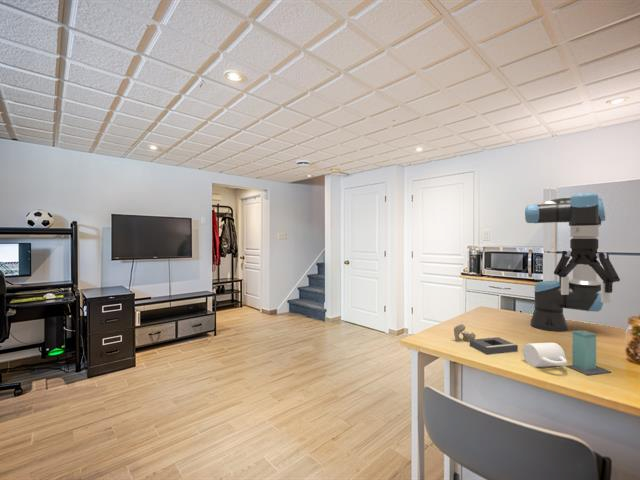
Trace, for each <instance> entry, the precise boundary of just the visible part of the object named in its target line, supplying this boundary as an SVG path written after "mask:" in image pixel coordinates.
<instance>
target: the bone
mask: <svg viewBox="0 0 640 480" xmlns="http://www.w3.org/2000/svg"><path fill="white" fill-rule="evenodd" d="M465 329H466V326H465V324H462V323H461V324H460V323H459V324H458V325H456V326H454V328H453V334H454V335H453V336H454V338H455V342H468V343H470V340H472V339H476V333H474V332H471V333H469V331H466V330H465ZM460 334H461V335H462V338H461V337H460Z"/></svg>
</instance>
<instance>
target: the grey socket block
mask: <svg viewBox="0 0 640 480" xmlns="http://www.w3.org/2000/svg"><path fill="white" fill-rule="evenodd" d="M469 346H470V347H472V348H474V349H475V350H477V351H479V352H481V353H483V354H485V355H497V354H498V355H499V354H506V353H507V354H508V353H517V352H518V351H519V350H518V346H519V345H518V344H516V343H513V342H511V341H508V340H506V339H503V338H502V337H497V336H496V337H486V338H475V339H472V340H470V342H469Z"/></svg>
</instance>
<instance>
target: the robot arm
mask: <svg viewBox="0 0 640 480" xmlns="http://www.w3.org/2000/svg"><path fill="white" fill-rule="evenodd" d="M524 217H525V218H524V219H525V223H527V224H547V223H551V224H553V223H568V226H569V229H570V231H569V232H570V235H569V236H570V238H571V239H570V240H569V243H570V244H569V246H570V247H569V248H570V249H571V251H570V250H562V252H561V258H560V259H559V262H558V263H557V265H556V267H555V269H554V271H553V274H554V275H556V276H558V278H559V280H545V281H544V280H543V281H538V282H536V283H535V284H534V290H533V292H534V311H533V313H532V316H531V319H530V324H529V325H530V326H531V327H534V328H535V329H540V330H544V331H548V332H549V331H552V332H567V331H568V330H569V329H568V326H569V325H568V323H567V321H566V318H565V315H564V309H568V310H577V311H585V312H596V313H597V312H600V311H601V310H602V309H603V305H604V304H606V303H610V302H611V294H612V293H613V284H614V283H618V282H620V280H621V279H620V277H619V275H618V273H617V271H616V270H615V267H614V265H613V264H612V262H611V260H610V256H609V252H598V249H599V239H598V237H599V233H600V232H599V228H600V227H602V226H601V225H602V222H605V221H606V211H605V206H604V201H603V199H602V197H601V196H599V195H598V193H594V192H593V193H591V192H589V193H586V192H585V193H578V194H577V193H576V194H573V195H571V196H570V197H563V198H561V197H560V198H554V199H550V200H547V201H544V202H542V203H540V204H539V203H538V204H536V203H535V204H529V205H528V204H527V205H526V206H525V209H524ZM598 259H599V260H598ZM570 272H572V278H571V279H570V277H569V274H570ZM597 276H598V277H599V278H600V279H601V280H602V281H603V282H600V281H599V280H598V279H597Z"/></svg>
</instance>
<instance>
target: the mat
mask: <svg viewBox="0 0 640 480" xmlns="http://www.w3.org/2000/svg"><path fill="white" fill-rule="evenodd" d="M565 367H566V368H569V369H571V370H572V371H576V372H578V373H581V374H583V375H585V376H587V377H588V376H596V375H603V374H605V375H606V374H610V373H612V371H611V370H608V369H605V368H603V367H601V366H599V365H596V369H591V370H584V369H582V368H579V367H577V366H574V365H571V364H570V365H565Z"/></svg>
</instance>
